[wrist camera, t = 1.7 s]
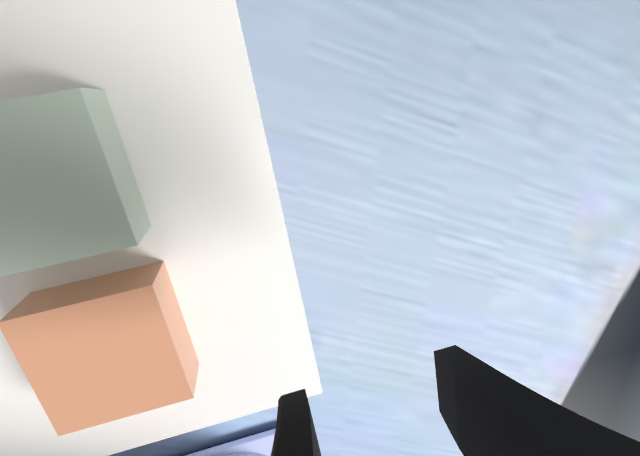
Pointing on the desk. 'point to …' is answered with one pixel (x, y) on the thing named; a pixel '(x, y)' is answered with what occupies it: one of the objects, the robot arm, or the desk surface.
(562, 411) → the robot arm
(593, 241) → the desk surface
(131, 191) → the sage-green tile
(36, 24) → the white board
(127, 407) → the terracotta tile
